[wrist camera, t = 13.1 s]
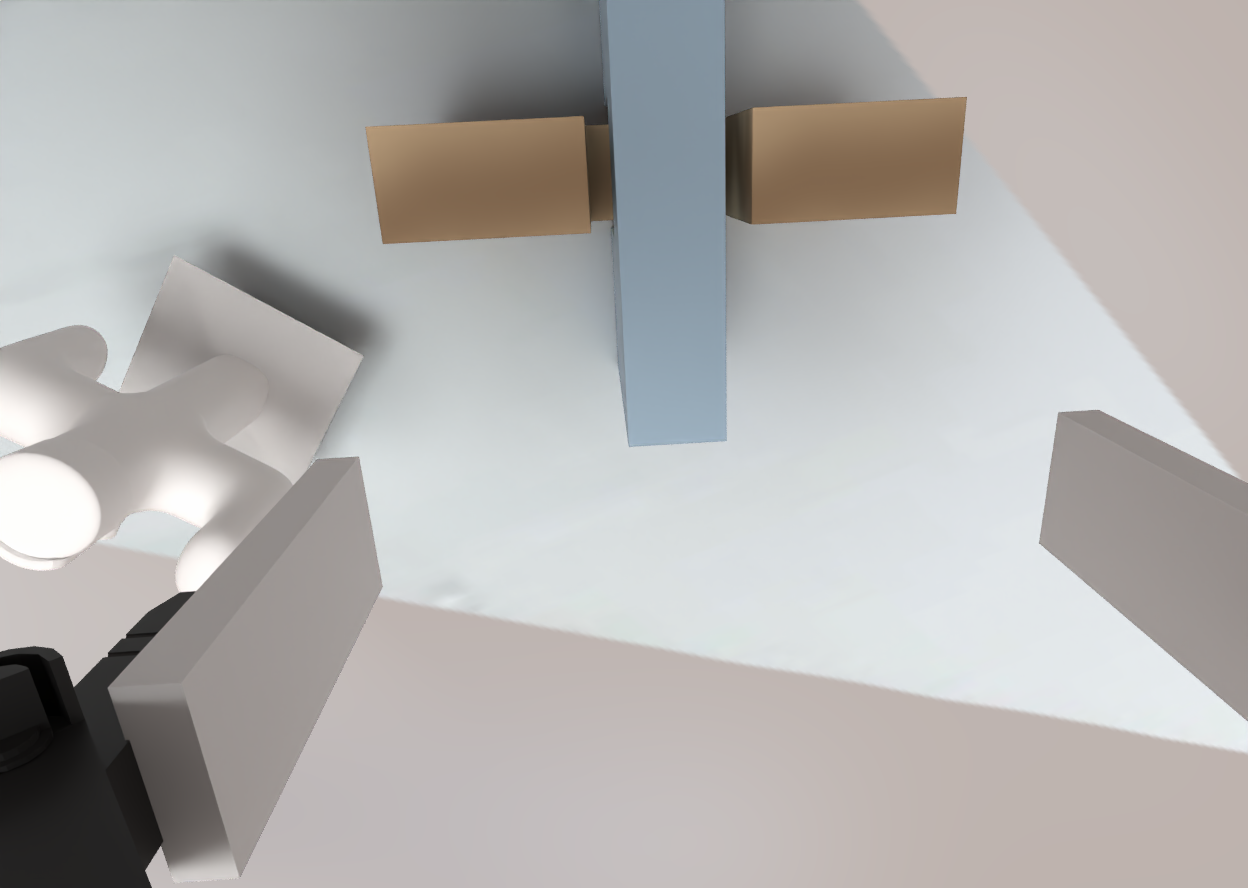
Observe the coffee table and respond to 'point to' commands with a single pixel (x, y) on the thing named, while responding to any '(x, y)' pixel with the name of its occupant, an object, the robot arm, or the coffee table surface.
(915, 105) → the wooden block stack
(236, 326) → the figurine
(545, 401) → the coffee table surface
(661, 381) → the blue bridge block
